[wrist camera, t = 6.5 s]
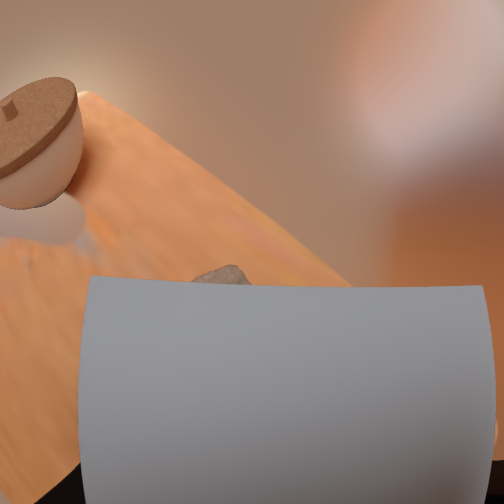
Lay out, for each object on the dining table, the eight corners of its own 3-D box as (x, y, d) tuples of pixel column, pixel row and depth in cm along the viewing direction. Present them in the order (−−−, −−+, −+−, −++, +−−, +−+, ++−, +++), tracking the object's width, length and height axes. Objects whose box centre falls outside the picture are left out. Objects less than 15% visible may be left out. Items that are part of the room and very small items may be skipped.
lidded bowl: (68, 124, 28) (46, 52, 18) (119, 171, 26) (95, 79, 16) (-8, 188, 22) (-51, 126, 12) (24, 256, 20) (-42, 188, 10)
